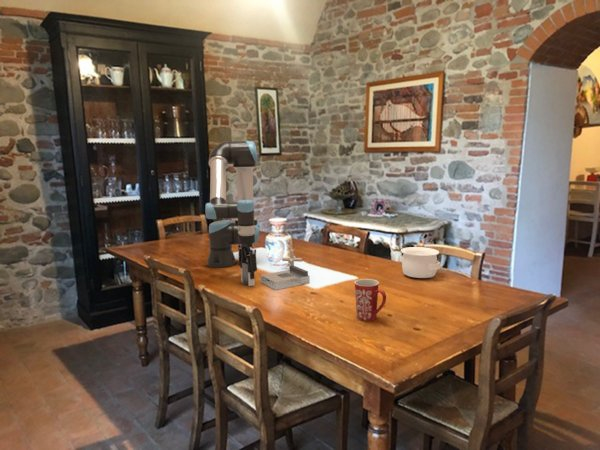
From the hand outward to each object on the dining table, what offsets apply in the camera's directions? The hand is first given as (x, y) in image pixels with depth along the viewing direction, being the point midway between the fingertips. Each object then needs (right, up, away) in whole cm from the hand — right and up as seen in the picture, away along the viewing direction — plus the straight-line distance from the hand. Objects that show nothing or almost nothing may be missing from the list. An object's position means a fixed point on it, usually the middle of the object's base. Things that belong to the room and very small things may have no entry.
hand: (247, 283), depth 215 cm
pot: (+81, +2, +10) cm, 82 cm away
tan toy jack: (+20, +4, +24) cm, 32 cm away
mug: (+50, -8, -44) cm, 66 cm away
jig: (+17, 0, +1) cm, 17 cm away
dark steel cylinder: (0, 0, 0) cm, 0 cm away
